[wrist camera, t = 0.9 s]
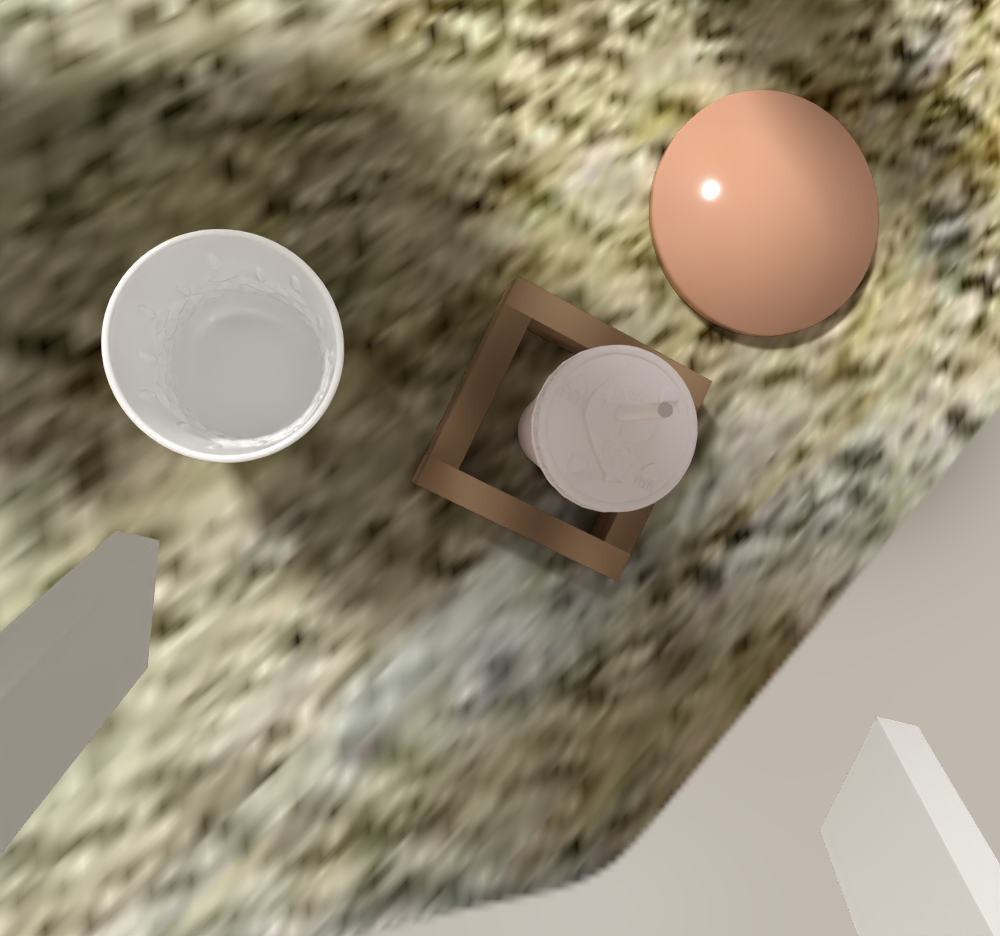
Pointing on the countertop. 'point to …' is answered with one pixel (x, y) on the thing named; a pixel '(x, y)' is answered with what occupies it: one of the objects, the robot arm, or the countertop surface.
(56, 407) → the countertop surface
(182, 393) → the white cup
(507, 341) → the brown square wooden frame
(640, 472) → the smoothie
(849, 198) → the coaster
